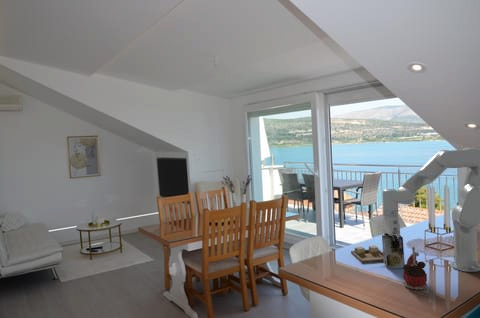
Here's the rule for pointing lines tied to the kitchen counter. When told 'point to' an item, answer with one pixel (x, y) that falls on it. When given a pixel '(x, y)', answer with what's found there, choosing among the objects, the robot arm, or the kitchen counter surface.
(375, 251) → the beech block
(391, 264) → the coffee box
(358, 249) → the beech block
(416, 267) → the cake
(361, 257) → the tray
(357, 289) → the kitchen counter surface
